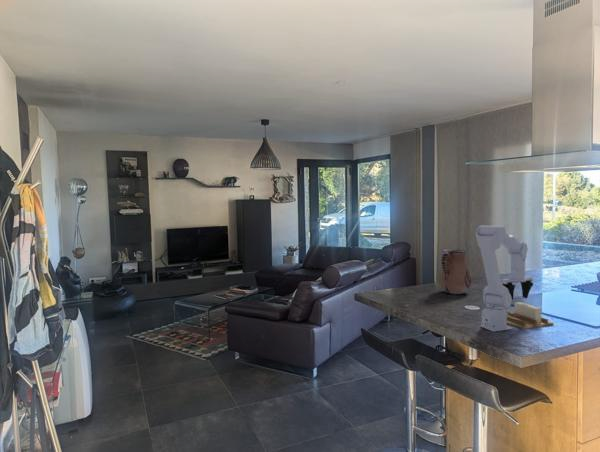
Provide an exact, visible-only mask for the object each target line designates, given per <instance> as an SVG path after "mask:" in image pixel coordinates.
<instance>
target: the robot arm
mask: <svg viewBox="0 0 600 452" xmlns="http://www.w3.org/2000/svg"><path fill="white" fill-rule="evenodd" d="M475 238H476V242H477V247H478V248H479V249H480V253H481V259H482V263H483V269H484V273H485V276H486V281H487V286H485V287H484V289H483V290H482V300H483V302H484V304H485V305H486V307H485V308H483V309H482V310H481V325H480V328H481V327H482V328H484V329H486V330H488V331H491V332H501V331H509V330H512V329H513V328H512V327H510V326H508V324H507V312H508V308H510V307H511V305H512V302H513V300H514V291H515V287H516V285H515V284H517V283H520V285H521V289H522V290H521V292H522V293H521V295H522V298H523V299H528V298H529V294H530V292H531V291H530V290H531V289H532V287H533V286H534V277H532V276H526V259H527V254H528V249H529V248H528V245H527V243H525V242H524V241H520V240H519V239H518V238H516V236H515V235H513V234H508V232H507V231H506V228H505V227H504V226H503V225H482V224H481V225H479V226H478V227H477V228H476V232H475ZM502 245H503V246H504V247H505V248H506V250H507V252H508V254H509V255H510V277H508V278H507V277H506V278H502V279H501V274H500V270H499V269H500V268H499V264H498V259H497V254H496V250H498V249H500V248H501V246H502Z"/></svg>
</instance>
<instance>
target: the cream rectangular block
mask: <svg viewBox="0 0 600 452" xmlns="http://www.w3.org/2000/svg"><path fill="white" fill-rule="evenodd" d="M513 307H514V310H513V311H514V312H513V313H516V314H519V315H522V316H525V317H528V318H531V319H534V320H537V323H538V322H541V317H542V308H541V307H539V306H535V305H532V304H528V303H526V302H525V303H524V302H521V301H518V302H514V306H513Z"/></svg>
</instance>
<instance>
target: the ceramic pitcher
mask: <svg viewBox="0 0 600 452" xmlns="http://www.w3.org/2000/svg"><path fill="white" fill-rule="evenodd" d="M442 251H443V253H442V256H441V261H440V262H441V268H440V273H439V278H438V279H439V284H440V287H441V289H442V290H443V291H444V292H445V293H447V294H450V295H462V294H464V293H467V291H468V290H469V288H470V286H471V284H472V276H471V272H470V268H469V265H468V263H467V262H468V261H467V260H466V253H467V251H466V250H464V249H463V250H462V249H451V248H450V249H444V250H442Z"/></svg>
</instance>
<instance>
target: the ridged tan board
mask: <svg viewBox="0 0 600 452" xmlns="http://www.w3.org/2000/svg"><path fill="white" fill-rule="evenodd" d="M507 325H510V326H513V327H515V328H518V329H521V330H526V329H534V328H535V329H536V328H542V327H549V326H554V322H552V321H549V319H548V318H546V317H542V316H541V322H538V323H537V320H534V319H531V318H528V317H525V316H522V315H519V314H516V313H514V312H511V311H508V310H507Z"/></svg>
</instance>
